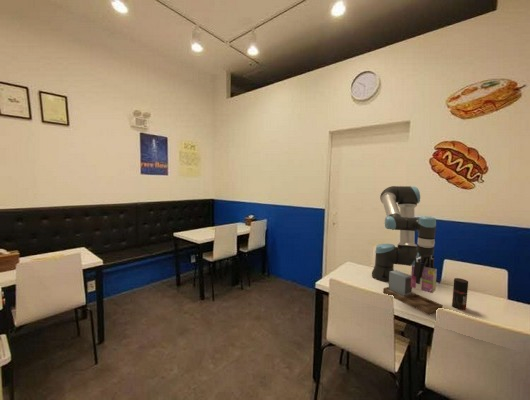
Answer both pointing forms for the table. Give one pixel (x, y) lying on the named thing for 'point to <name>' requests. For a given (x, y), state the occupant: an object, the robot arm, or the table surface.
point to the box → (426, 279)
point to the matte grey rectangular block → (400, 283)
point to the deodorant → (460, 294)
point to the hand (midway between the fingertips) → (422, 287)
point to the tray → (416, 301)
